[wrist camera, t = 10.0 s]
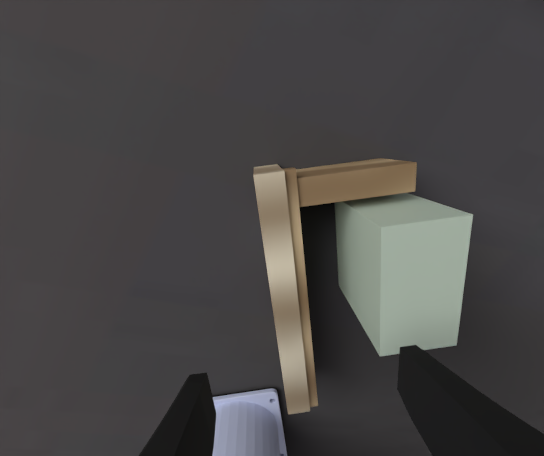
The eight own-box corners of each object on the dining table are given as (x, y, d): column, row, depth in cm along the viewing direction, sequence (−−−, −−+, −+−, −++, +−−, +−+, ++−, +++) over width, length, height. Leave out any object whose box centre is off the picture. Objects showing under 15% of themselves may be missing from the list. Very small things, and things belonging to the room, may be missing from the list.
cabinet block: (396, 277, 20) (466, 343, 13) (338, 285, 20) (380, 356, 13) (399, 187, 18) (484, 213, 11) (334, 195, 18) (380, 227, 11)
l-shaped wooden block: (379, 347, 22) (409, 396, 18) (281, 361, 22) (288, 414, 17) (380, 150, 17) (423, 152, 13) (253, 167, 17) (253, 175, 12)
